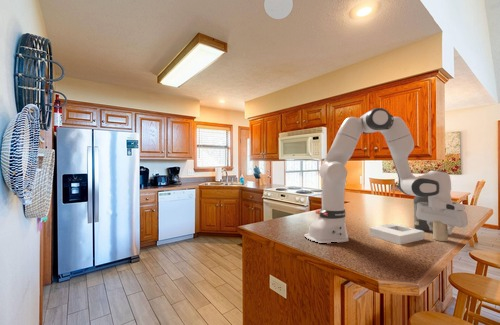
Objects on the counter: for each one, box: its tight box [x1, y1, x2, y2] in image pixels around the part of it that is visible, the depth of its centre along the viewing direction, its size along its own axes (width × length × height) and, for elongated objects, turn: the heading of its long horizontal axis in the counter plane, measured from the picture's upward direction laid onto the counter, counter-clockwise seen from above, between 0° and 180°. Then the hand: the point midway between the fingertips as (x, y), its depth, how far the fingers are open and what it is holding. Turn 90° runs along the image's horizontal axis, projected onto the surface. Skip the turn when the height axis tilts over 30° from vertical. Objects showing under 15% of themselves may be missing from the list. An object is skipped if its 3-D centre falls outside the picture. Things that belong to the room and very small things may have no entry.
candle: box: [432, 221, 449, 242], centre depth 112 cm, size 6×6×10 cm
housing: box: [369, 223, 425, 246], centre depth 117 cm, size 18×16×4 cm
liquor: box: [413, 196, 433, 233], centre depth 129 cm, size 9×9×30 cm
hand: (440, 232), depth 112 cm, fingers closed on candle, 5 cm apart
